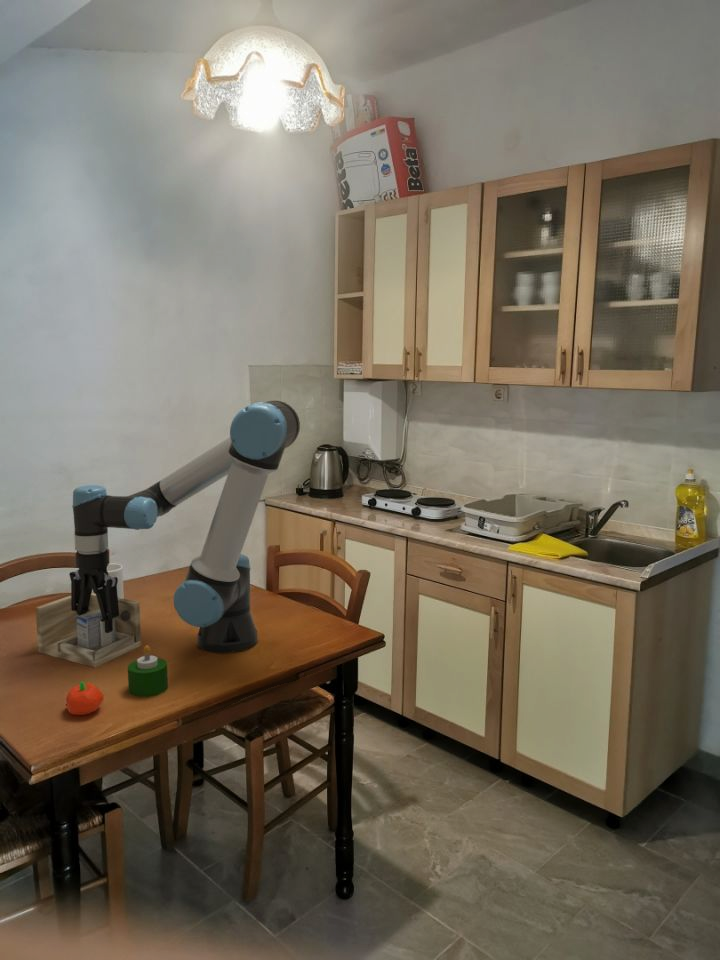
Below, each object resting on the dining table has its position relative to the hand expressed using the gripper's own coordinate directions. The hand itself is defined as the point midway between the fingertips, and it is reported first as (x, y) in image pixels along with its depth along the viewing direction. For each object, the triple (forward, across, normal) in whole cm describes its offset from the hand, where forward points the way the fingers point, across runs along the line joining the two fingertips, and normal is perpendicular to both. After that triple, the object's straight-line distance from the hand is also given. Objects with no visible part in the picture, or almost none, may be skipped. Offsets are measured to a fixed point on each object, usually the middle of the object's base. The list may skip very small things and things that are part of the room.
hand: (96, 641), depth 181 cm
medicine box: (+2, 0, 0) cm, 2 cm away
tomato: (+3, -21, +23) cm, 31 cm away
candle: (+3, -25, +9) cm, 26 cm away
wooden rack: (+3, +3, -1) cm, 4 cm away
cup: (+3, +12, -16) cm, 20 cm away
